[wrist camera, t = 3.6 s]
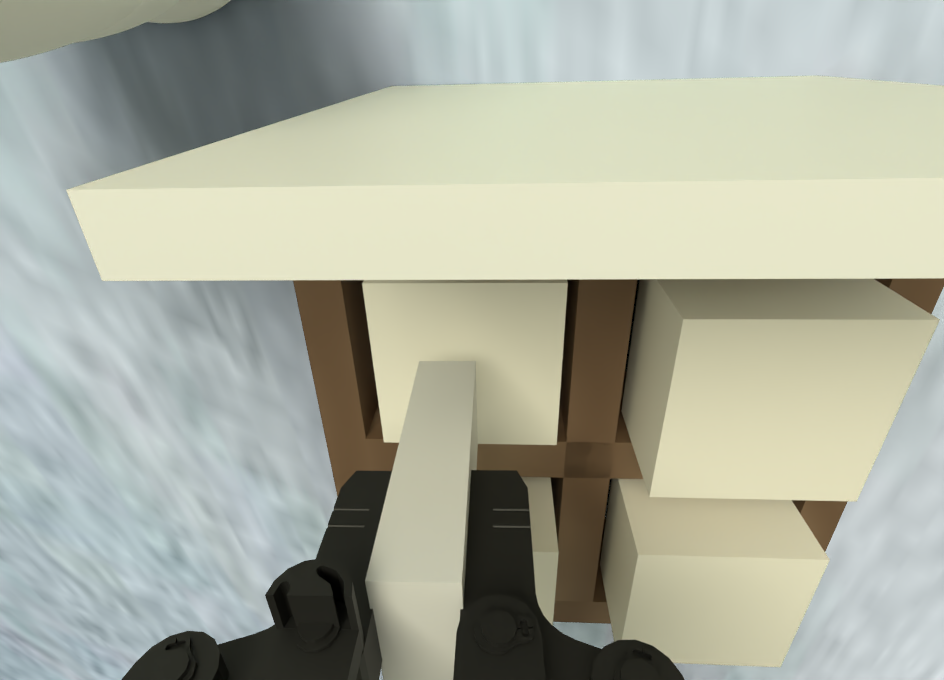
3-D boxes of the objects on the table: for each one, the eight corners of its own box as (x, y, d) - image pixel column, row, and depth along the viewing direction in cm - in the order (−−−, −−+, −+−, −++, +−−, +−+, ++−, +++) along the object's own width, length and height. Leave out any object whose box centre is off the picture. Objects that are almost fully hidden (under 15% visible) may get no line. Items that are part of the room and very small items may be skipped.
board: (382, 532, 27) (361, 614, 23) (325, 166, 18) (276, 198, 14) (746, 542, 25) (790, 629, 22) (875, 157, 17) (986, 189, 13)
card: (393, 120, 17) (110, 301, 5) (390, 86, 16) (65, 190, 4) (808, 111, 16) (1741, 300, 4) (817, 75, 16) (1916, 163, 3)
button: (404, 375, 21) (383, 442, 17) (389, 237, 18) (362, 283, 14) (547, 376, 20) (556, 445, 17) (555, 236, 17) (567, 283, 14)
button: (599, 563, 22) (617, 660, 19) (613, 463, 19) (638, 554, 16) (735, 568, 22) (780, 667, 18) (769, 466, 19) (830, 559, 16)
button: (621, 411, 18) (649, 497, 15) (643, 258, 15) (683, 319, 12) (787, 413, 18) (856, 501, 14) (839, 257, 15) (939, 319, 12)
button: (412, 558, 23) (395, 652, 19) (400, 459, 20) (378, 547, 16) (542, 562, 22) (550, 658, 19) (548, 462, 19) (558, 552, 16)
